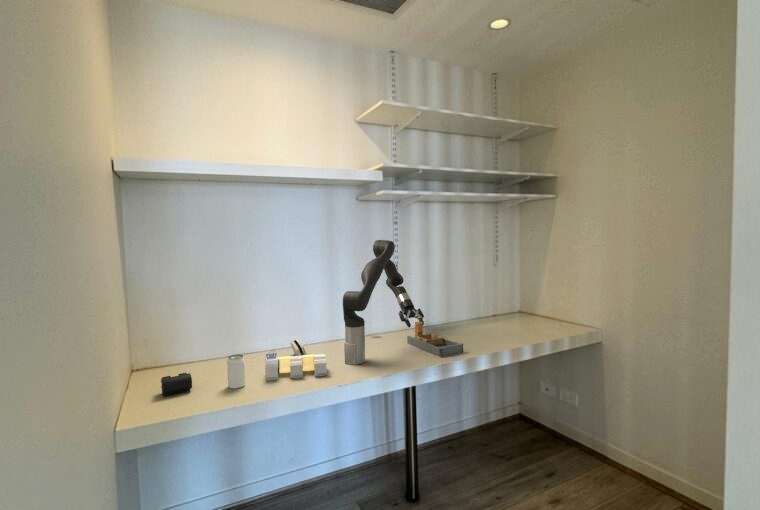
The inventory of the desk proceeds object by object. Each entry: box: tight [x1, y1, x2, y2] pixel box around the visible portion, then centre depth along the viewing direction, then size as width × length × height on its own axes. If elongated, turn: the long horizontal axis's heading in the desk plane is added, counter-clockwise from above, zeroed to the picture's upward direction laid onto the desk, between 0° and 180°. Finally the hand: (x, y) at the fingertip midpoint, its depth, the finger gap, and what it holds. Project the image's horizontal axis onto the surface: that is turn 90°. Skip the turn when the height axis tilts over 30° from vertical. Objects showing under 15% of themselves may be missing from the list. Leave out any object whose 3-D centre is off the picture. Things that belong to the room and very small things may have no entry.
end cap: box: [160, 372, 193, 397], centre depth 151 cm, size 10×7×7 cm
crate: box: [414, 320, 445, 346], centre depth 210 cm, size 17×10×10 cm, turn 28°
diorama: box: [264, 348, 328, 381], centre depth 168 cm, size 25×10×13 cm, turn 101°
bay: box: [406, 332, 464, 358], centre depth 204 cm, size 30×14×4 cm, turn 28°
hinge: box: [289, 338, 309, 356], centre depth 192 cm, size 17×5×10 cm, turn 24°
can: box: [226, 354, 246, 390], centre depth 156 cm, size 6×6×12 cm
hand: (416, 325), depth 218 cm, fingers open, 8 cm apart
